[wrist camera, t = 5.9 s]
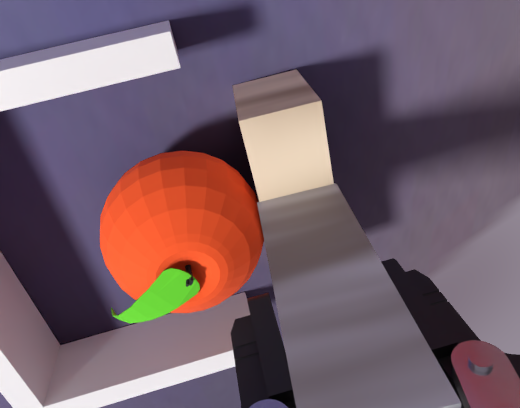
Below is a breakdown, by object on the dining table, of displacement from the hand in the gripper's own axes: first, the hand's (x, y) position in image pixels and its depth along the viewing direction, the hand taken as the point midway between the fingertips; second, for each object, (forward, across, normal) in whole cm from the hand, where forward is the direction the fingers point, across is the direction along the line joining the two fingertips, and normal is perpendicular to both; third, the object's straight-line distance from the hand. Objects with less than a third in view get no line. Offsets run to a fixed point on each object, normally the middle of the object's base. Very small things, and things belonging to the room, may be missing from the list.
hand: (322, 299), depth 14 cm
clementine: (+9, +5, 0) cm, 11 cm away
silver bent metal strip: (+9, -1, 0) cm, 9 cm away
